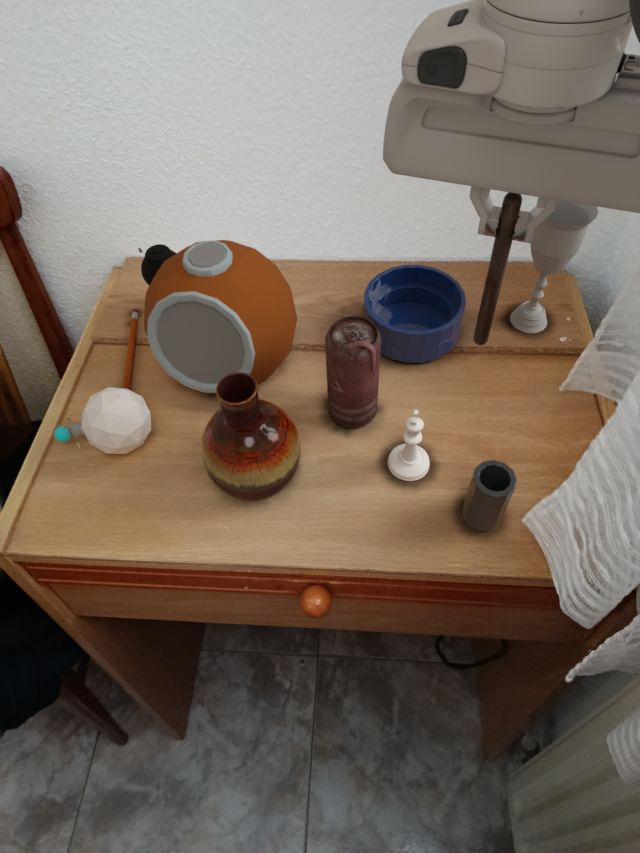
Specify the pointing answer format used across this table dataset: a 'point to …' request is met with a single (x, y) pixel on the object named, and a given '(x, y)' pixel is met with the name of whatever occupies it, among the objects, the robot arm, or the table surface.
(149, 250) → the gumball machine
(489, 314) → the stick
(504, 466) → the utensil pot
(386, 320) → the bowl
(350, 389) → the can
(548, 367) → the table surface
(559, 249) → the chalice
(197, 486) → the table surface
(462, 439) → the table surface
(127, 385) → the pencil
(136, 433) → the perfume bottle
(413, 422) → the chess piece
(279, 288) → the diving helmet
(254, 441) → the vase
